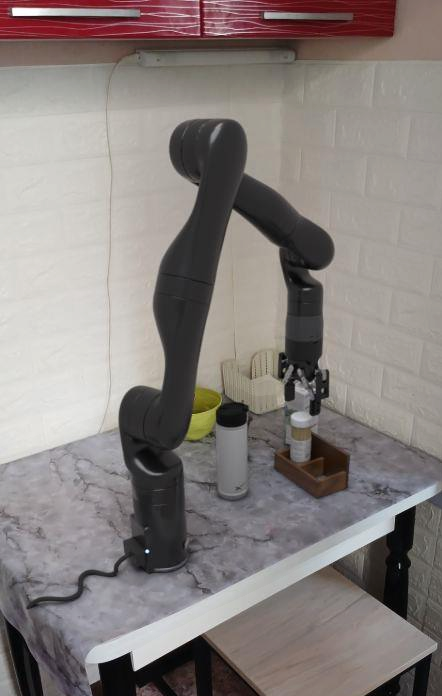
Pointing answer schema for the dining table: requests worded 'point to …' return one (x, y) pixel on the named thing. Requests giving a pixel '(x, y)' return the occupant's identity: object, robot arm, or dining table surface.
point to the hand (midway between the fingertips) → (301, 407)
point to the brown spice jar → (300, 437)
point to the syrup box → (298, 409)
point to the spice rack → (317, 468)
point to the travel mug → (232, 450)
